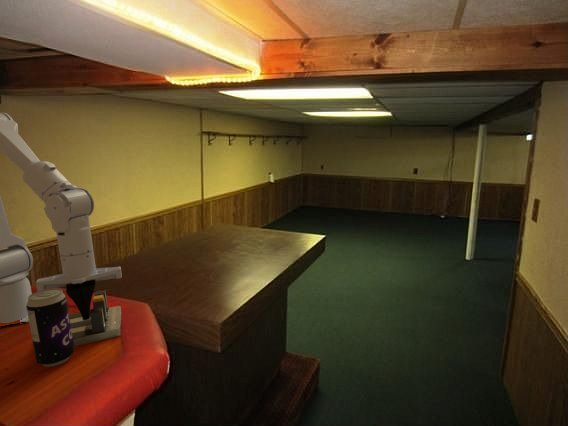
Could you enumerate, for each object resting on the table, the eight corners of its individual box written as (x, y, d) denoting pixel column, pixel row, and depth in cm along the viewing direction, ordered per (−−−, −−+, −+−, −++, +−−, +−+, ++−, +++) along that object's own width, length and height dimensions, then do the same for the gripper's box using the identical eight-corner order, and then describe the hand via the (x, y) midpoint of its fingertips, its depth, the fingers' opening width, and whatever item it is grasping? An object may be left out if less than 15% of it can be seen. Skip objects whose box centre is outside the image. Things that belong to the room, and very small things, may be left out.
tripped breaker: (96, 317, 76) (93, 296, 76) (106, 315, 77) (103, 294, 76) (95, 321, 74) (92, 299, 74) (106, 319, 75) (103, 297, 74)
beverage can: (57, 370, 61) (45, 301, 59) (28, 368, 62) (16, 300, 60) (82, 351, 67) (72, 287, 65) (55, 350, 68) (44, 287, 66)
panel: (48, 325, 78) (43, 300, 77) (121, 311, 83) (117, 287, 82) (34, 355, 66) (29, 325, 65) (120, 336, 72) (116, 309, 71)
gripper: (27, 263, 66) (40, 335, 68) (117, 251, 71) (126, 317, 74) (36, 253, 73) (47, 319, 75) (118, 243, 78) (126, 304, 80)
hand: (86, 317), depth 75 cm, fingers closed
